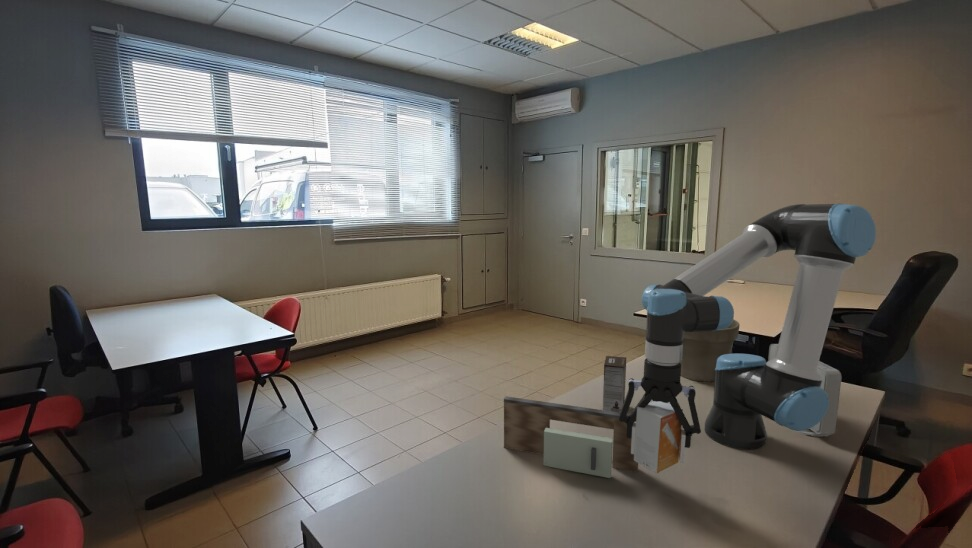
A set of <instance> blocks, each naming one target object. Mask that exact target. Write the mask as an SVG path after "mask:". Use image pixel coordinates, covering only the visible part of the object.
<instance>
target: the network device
mask: <svg viewBox="0 0 972 548" xmlns="http://www.w3.org/2000/svg"><path fill="white" fill-rule="evenodd" d="M778 344H779V343H771V344H770V345H769V349H768V357H767V358H768V360H767V362H768V361H770V360H773V359H774V358H775V355H776V351H777V347H778ZM817 372H818V373H819V374H820V376H821V377H822V382H821V386H820V388H822V389H823V390H824V391H825V392H826V393H827V394H828V399H829V407H828V410H827V412H826V414H825V416H824V417H823V419H822V420H821V421H820V422H819V423H818V424H816V425H815V426H814V427H812V428H810V429H809V430H810V431H796V433H798V432H799V434H800V433H802V434H801V435H803V434H806V435H811V436H810V437H823V436H825V437H828V436H827V435H829V436H830V435H834V434H835V433H836V430H837V427H836V426H837V419H838V410H839V404H840V403H839V402H840V394H841V385H842V377H843V376H842V373H841V372H840V370H839V369H837V368H834V367H832V366H831V365H829V364H826V363H824V362H822V361H821V360H819V362H818V366H817ZM811 431H812V432H811ZM806 435H805V436H806Z"/></svg>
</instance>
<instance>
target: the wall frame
mask: <svg viewBox="0 0 972 548" xmlns="http://www.w3.org/2000/svg"><path fill="white" fill-rule="evenodd" d="M630 414H631V413H627V416H629V415H630ZM619 416H620V413H619V412H612V411H605V410H603V409H598V408H591V407H583V406H575V405H570V404H562V403H555V402H549V401H542V400H541V401H540V400H535V399H533V400H532V399H527V398H519V397H513V396H504V398H503V448H504V449H511V450H515V451H522V452H526V453H532V454H537V455H543V456H544V430H545V428H551V421H556V422H557V421H558V422H562V423H563V422H564V423H570V424H576V425H583V426H588V427H589V426H590V427H597V428H601V429H608V430H613V440H612V466H611V468H613V469H619V470H624V471H631V472H635V473H636V472H637V473H638V472H639V463H637V462H636V461H634V454H631V441H632V438H627V436H626V435H627V424H626V423H625V422H621V421H620V420H619ZM635 422H636V421H635ZM635 434H636V433H635Z"/></svg>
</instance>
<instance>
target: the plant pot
mask: <svg viewBox="0 0 972 548" xmlns="http://www.w3.org/2000/svg"><path fill="white" fill-rule="evenodd" d="M739 331H740V322H739V321H738V320H736V319H733V322H732V323H731V325H730V326H729V327H727V328H725V329H720V330H716V331H700V332H688V333H684V338H683V349H682V361H681V362H680V363H681V377H683V378H685V379H688V380H691V381H697V382H715V368H716V363H717V359H718V358H719V357H720V356H721V355H725V354H730V352H731V350H732V347H733V344H734V341H735V340H737V339H738V336H739V333H740V332H739Z"/></svg>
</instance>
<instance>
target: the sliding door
mask: <svg viewBox="0 0 972 548" xmlns="http://www.w3.org/2000/svg"><path fill="white" fill-rule="evenodd" d="M612 461H613V438H612V437H607V436H599V435H593V434H587V433H580V432H575V431H570V430H563V429H557V428H551V427H550V428H545V430H544V455H543V466H545V467H548V468H549V467H550V468H555V469H560V470H565V471H570V472H576V473H583V474H587V475H592V476H598V477H602V478H608V479H611V478H612Z"/></svg>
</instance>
